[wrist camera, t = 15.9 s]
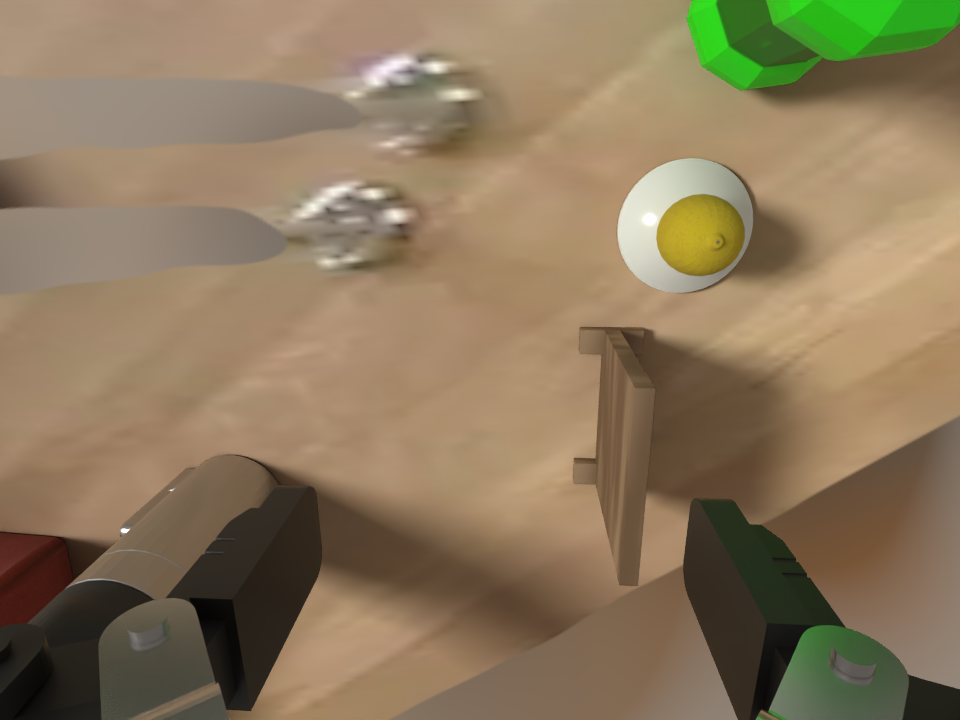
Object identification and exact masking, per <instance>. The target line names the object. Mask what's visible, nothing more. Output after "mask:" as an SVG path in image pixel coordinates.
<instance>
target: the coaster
mask: <svg viewBox="0 0 960 720" xmlns="http://www.w3.org/2000/svg"><path fill="white" fill-rule="evenodd" d="M698 194H708V195H713V196H717V197H719V198H722V199H724V200H726V201H727V202H729V203H730V204H731V205H732V206H733V207H734V208H735V209H736V210H737V211H738V213H739V215H740V216H741V218H742V221H743V224H744V228H745V240H744V243H743V247H742V249H741V251H740V253H739V255H738V257H737V258H736V259H735V260H734V261H733V263H732V264H730V265H729V266H728V267H726V268H725V269H724V270H721V271H719V272H717V273H715V274H711V275H706V276H690V275H686V274H683V273H680V272H678V271H676V270H675V269H673V268H672V267H670V266H669V265H668V264H667V263H666V262H665V260H664V259H663V258H662V256H661V254H660V252H659V250H658V246H657V241H656V235H657V228H658V225H659V222H660V219H661V218H662V216H663V215H664V213H665V211H666V210H667V209H668V208H669V207H670V206H671V205H673V204H674V203H676V202H677V201H679V200H681V199H682V198H685V197H688V196H691V195H698ZM752 229H753V209H752V204H751V200H750V197H749V195H748V192H747V190H746V189H745V187H744V185H743V184H742V182H741V181H740V180H739V178H738V177H737V176H736V175H734V174H733V173H732V172H731V171H730V170H728V169H727V168H726V167H724V166H722V165H720V164H718V163H715V162H712V161H709V160H704V159H695V158H689V159H679V160H674V161H670V162H668V163H665V164H662V165H660V166H658V167H656V168H654V169H653V170H651V171H650V172H648V173H647V174H646V175H644V176H643V177H642V178H641V179H640V180H639V181H638V182H637V183H636V184H635V185H634V186H633V188H632V189H631V190H630V192H629V193H628V195H627V197H626V198H625V200H624V202H623V205H622V207H621V210H620V213H619V217H618V223H617V240H618V246H619V249H620V253H621V255H622V257H623V260H624V261H625V263H626V265H627V266H628V268H629V269H630V270H631V271H632V273H633V274H634V275H636V276H637V277H638V278H639V279H640V280H641V281H643V282H644V283H646V284H647V285H649V286H651V287H653V288H655V289H658V290H661V291H666V292H672V293H686V292H692V291H697V290H700V289H703V288H706V287H708V286H710V285H712V284H714V283H716V282H717V281H719V280H720V279H722V278H723V277H724V276H726V275H727V274H728V273H729V272H730V271H731V270H732V269H733V268H734V267H735V266H736V264H737V263H738V262H739V261H740V259H741V258H742V256H743V254H744V253H745V251H746V248H747V246H748V244H749V241H750V238H751V234H752Z"/></svg>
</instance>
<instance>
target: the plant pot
mask: <svg viewBox="0 0 960 720" xmlns="http://www.w3.org/2000/svg"><path fill="white" fill-rule="evenodd" d="M72 582H73V576H72V571H71V566H70V561H69V556H68V551H67V547H66V544H65V543H64V542H63V541H62V540H61V539H59V538H56V537H48V536H35V535H23V534H10V533H0V627H2V626H6V625H12V624H22V623H25V624H27V623H28V622H29V621H30V620H31V619H32V618H33V617H35V616H36V615H37V614H38V613H39V612H40V611H41V610H42V609H43V608H44V607H45V606H47V605H48V604H49V603H50V602H51V601H52V600H53V599H54V598H55V597H56V596H57V595H58V594H59V593H60V592H62V591H63V590H64V589H65V588H66V587H67V586H69V585H70V584H71V583H72Z"/></svg>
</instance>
